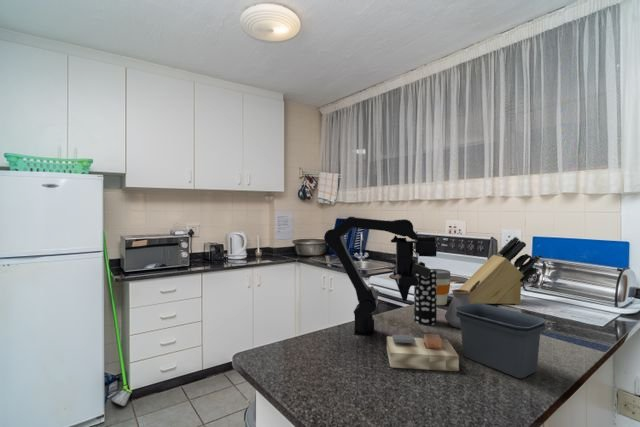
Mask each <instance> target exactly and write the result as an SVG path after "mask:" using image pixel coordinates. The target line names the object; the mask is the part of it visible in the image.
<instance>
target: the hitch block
mask: <svg viewBox="0 0 640 427" xmlns="http://www.w3.org/2000/svg"><path fill="white" fill-rule="evenodd" d="M413 338H414V339H415V343H403V342H394V341H393V338H392V335H391V336H390V335H389V336H386V353H387V357H388V362H389V367H390V368H396V369H397V368H398V369H400V368H401V369H413V370H431V371H447V372H448V371H449V372H451V371H452V372H459V371H460V366H459V365H460V355H459V354H458V353H457V351H456V350H455V349H454V347H453V346H452V344H451V342H450V341H449V340H448V339H447V338H441V339H442V350H441V349H427V348H426V346H425V344H424V337H413Z"/></svg>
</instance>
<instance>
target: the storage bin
mask: <svg viewBox="0 0 640 427" xmlns="http://www.w3.org/2000/svg"><path fill="white" fill-rule="evenodd" d="M455 310H456V311H457V312H456V316H457V317H458V318H460V324H461V328H460V332H461V344H462V352H463V356H464V357H465V358H467V359H469V360H472V361H474V362H476V363H478V364H481V365H484V366H487V367H489V368H492V369H494V370H496V371H499V372H502V373H504V374H506V375H510V376H512V377H515V378H517V379H524V378H526V377H528V376H531V375H532V374H533V373H535V372H537V370H538V362H539V360H538V359H539V349H540V339H541V332H542V331H545V330H546V324H545V323H547V322H548V320H547V319H545V318H543V317H539V316H536V315H532V314H529V313H523V312H520V311H516V310H510V309H508V308H502V307H499V306H494V305H491V304H480V303H472V304H467V305H463V306H458V307H455Z"/></svg>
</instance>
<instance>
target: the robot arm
mask: <svg viewBox="0 0 640 427" xmlns="http://www.w3.org/2000/svg"><path fill="white" fill-rule="evenodd" d="M353 229H365V230H371V231H372V230H374V231H381V232H388V233H391V234H394V237H393V238H392V239H390V243H395V244H396V246H395V262H396V263H395V267H394V268H393V269H392V276H393V277H396V276H397V277H396V278H395V279H394V282H395V283H396V286H397V288H398V289H397V290H398V291H399V294H400V296H401V299H402V302H407V301H408V300H407V299H408V296H409V292H410V288H411V287H414V286H418V279H417V278H416V277H415V276H414V275H415V273H416V274H418V275H421V276H424V277H425V278H428V277H429V274H430V272H431V269H432V268H429V267H427V266H426V263H425V262H422V261H419V262H416V260H415V259H414V253H415V254H417V255H418V257H431V258H432V257H437V252H438V251H437V250H438V248H437V241H436V236H433V235H432V236H419V234H418V233H417V232H415V231H414V225H413V223H412V222H411V221H410V220H409V219H406V218H405V219H391V220H385V219H383V220H382V219H376V218H375V219H374V218H363V217H355V216H348V217H347V218H346V219H345V220H344V221H343V222H341V223H340V224H338V225H337V226H336V227H334V228H331V229H328V230H327V231H325V233H324V236H323V237H324V238H323V239H324V242H325V243H326V244H327V246H328V247H329V249H330V250H331V251H333V253H335V255H336V256H337V258H338V260H339V262H340V263H341V266H342V267H343V269H344V270H345V273H346V275H347V277H348V278H349V280H350V282H351V284H352V286H353V288H354V290H355V294H356V297H357V302H358V303H357V305H356V306H355V308H354V310H353V314H354V328H353V329H354V330H353V334H354V335H363V336H364V335H365V336H366V335H367V336H373V335H374V332H375V318H374V317H373V313H374V312H375V311H376V310H377V306H378V303H379V299H378V297H379V294H378V293H377V292H376V290H375V288H374V286H373V285H371V286H368V284H366V282H365V279H364V278H363V276H362V274H361V272H360V271H359V269H358V267H357V265H356V264H355V261H354V259H353V258H352V256H351V253H350V252H349V250H348V247H347V244H346V243H347V242H346V239H345V236H346V235H347V234H348V233H349V232H351V231H352V230H353ZM398 236H400V237H398ZM407 237H408V238H409V239H411V240H407ZM414 244H415V245H414ZM414 246H415V248H414ZM414 249H415V250H414ZM414 251H415V252H414Z"/></svg>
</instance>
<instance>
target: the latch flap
mask: <svg viewBox="0 0 640 427" xmlns="http://www.w3.org/2000/svg"><path fill="white" fill-rule="evenodd" d="M391 337H392V338H393V341H394V342H403V343H415V339H414V338H415V337H414V336H413V335H408V334H391Z"/></svg>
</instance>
